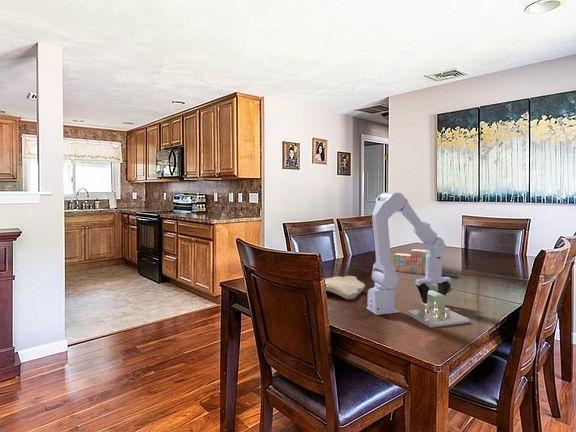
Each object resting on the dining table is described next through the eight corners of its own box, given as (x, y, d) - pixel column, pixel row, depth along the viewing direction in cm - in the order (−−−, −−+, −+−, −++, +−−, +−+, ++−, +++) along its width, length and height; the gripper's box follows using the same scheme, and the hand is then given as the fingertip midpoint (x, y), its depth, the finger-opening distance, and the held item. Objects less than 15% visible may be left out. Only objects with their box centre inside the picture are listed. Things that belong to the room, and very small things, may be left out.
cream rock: (321, 286, 180) (298, 291, 164) (322, 270, 180) (299, 274, 164) (368, 295, 166) (348, 302, 150) (369, 279, 166) (350, 284, 150)
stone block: (448, 291, 171) (427, 284, 177) (450, 281, 170) (429, 274, 176) (440, 298, 162) (417, 290, 168) (442, 288, 161) (420, 280, 167)
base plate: (430, 327, 122) (430, 314, 122) (407, 314, 135) (407, 302, 134) (468, 322, 126) (468, 309, 126) (442, 310, 139) (443, 298, 138)
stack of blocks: (393, 271, 206) (393, 249, 206) (396, 269, 212) (396, 247, 211) (434, 275, 196) (434, 252, 195) (436, 273, 201) (436, 250, 200)
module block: (433, 309, 140) (434, 296, 140) (421, 303, 148) (421, 291, 148) (445, 308, 142) (445, 295, 141) (431, 302, 149) (432, 290, 149)
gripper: (423, 270, 138) (423, 306, 139) (456, 268, 142) (455, 303, 143) (412, 267, 145) (412, 301, 146) (444, 264, 149) (443, 298, 150)
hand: (432, 302), depth 145 cm, fingers open, 7 cm apart
